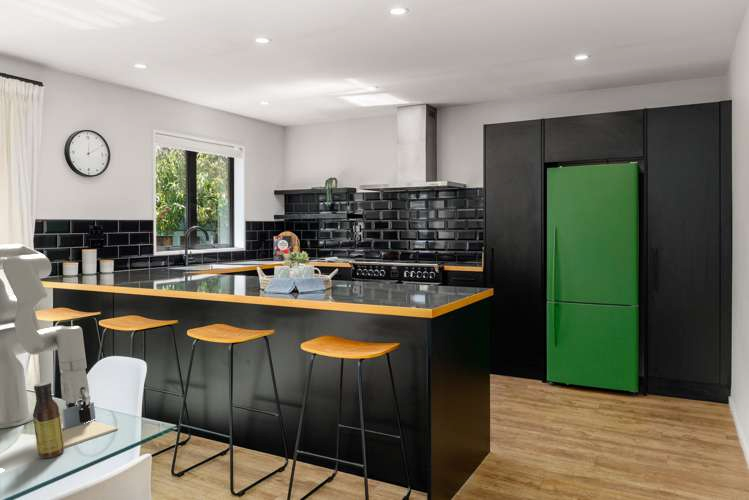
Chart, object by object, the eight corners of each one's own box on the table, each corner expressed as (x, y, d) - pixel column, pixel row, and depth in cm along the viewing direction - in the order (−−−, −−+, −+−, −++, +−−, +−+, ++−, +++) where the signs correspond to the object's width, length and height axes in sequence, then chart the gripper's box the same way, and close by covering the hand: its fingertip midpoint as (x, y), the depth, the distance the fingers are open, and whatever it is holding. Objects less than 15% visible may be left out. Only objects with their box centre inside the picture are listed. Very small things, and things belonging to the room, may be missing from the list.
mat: (39, 439, 169) (39, 437, 169) (93, 422, 181) (93, 420, 181) (62, 448, 158) (61, 446, 158) (117, 429, 171) (117, 427, 171)
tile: (63, 428, 178) (61, 410, 178) (92, 419, 185) (90, 401, 185) (66, 429, 176) (64, 410, 176) (95, 420, 183) (93, 402, 183)
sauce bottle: (46, 451, 157) (37, 381, 156) (69, 449, 157) (60, 378, 157) (33, 461, 151) (24, 387, 150) (57, 458, 151) (48, 385, 150)
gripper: (49, 366, 182) (55, 419, 183) (72, 370, 171) (79, 427, 172) (73, 360, 188) (79, 412, 189) (97, 364, 177) (104, 419, 178)
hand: (79, 419), depth 180 cm, fingers open, 8 cm apart
